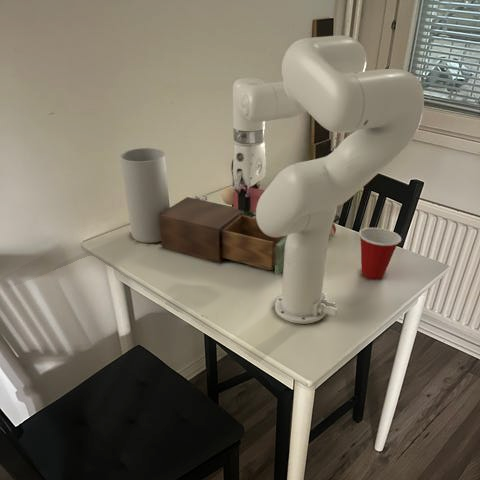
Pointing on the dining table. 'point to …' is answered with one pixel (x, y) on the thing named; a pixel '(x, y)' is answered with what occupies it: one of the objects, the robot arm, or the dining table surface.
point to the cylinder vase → (145, 191)
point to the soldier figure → (201, 198)
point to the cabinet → (196, 227)
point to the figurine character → (333, 228)
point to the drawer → (252, 244)
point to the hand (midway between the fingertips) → (248, 206)
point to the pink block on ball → (231, 197)
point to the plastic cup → (377, 251)
